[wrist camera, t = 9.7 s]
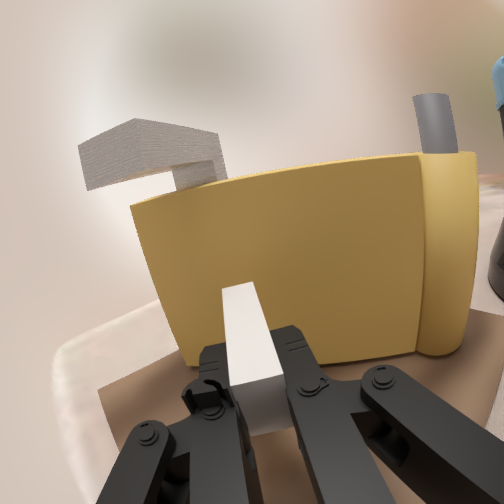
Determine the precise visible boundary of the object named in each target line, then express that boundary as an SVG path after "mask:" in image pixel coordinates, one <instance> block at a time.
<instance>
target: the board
mask: <svg viewBox="0 0 504 504" xmlns="http://www.w3.org/2000/svg"><path fill="white" fill-rule="evenodd" d="M384 364H386V365H393V366H395V367H397V368H399V369H401V370H402V371H403V372H405V373H406V374H408V375H409V376H410V377H412V378H413V379H415V380H416V381H417V382H419V383H420V384H422V385H423V386H425V387H426V388H427V389H429V390H430V391H432V392H433V393H434V394H436V395H437V396H439V397H440V398H441V399H443V400H444V401H446V402H447V403H449V404H450V405H451V406H453V407H454V408H456V409H457V410H458V411H460V412H461V413H463V414H464V415H466V416H467V417H468V418H470V419H471V420H473V421H474V422H476V423H477V424H478V425H480V426H481V427H483V428H484V427H485V425H486V422H487V419H488V417H489V414H490V411H491V408H492V405H493V402H494V399H495V396H496V393H497V389H498V386H499V382H500V378H501V375H502V371H503V366H504V316H500V315H496V314H491V313H487V312H483V311H478V310H474V309H469V314H468V319H467V324H466V328H465V332H464V336H463V340H462V343H461V345H460V346H459V347H458V348H457V349H456V350H455V351H453V352H451V353H449V354H446V355H440V356H432V355H427V354H423V353H421V352H419V351H417V350H415V351H414V352H409V353H403V354H397V355H392V356H385V357H379V358H372V359H365V360H357V361H349V362H339V363H329V364H319V366H320V368H321V370H322V372H323V373H324V374H325V375H327V376H329V377H330V378H331V379H334V380H339V381H350V380H359V379H362V376H363V374H364V373H365V372H366V371H367V370H368V369H370V368H372V367H374V366H377V365H384ZM198 376H199V366H187V365H186V363H185V360H184V358H183V356H182V354H181V351H180V349H179V350H177V351H175V352H174V353H172V354H170V355H168V356H166V357H164V358H162V359H160V360H158V361H156V362H154V363H152V364H150V365H148V366H146V367H144V368H142V369H140V370H138V371H136V372H134V373H132V374H130V375H128V376H126V377H124V378H122V379H120V380H117V381H115V382H113V383H111V384H109V385H107V386H105V387H103V388H100V389H98V394H99V397H100V400H101V403H102V406H103V409H104V412H105V415H106V418H107V421H108V424H109V426H110V429H111V432H112V434H113V437H114V439H115V442H116V444H117V447H118V449H119V451H120V452H121V450H122V448H123V446H124V443H125V441H126V439H127V437H128V435H129V433H130V432H131V431H132V429H133V428H134V427H135V426H136V425H138V424H139V423H141V422H144V421H147V420H157V421H160V422H162V423H163V424H165V425H166V426H168V425H171V424H173V423H176V422H179V421H181V420H183V419H185V418H187V417H188V416H189V415H191V413H190V412H189V410H188V408H187V407H186V405H185V403H184V401H183V399H182V398H181V394H182V391H183V389H184V388H185V387H186V386H187V385H188V384H189V383H191V382H192V381H194V380H195V379H198ZM249 436H250V434H249ZM250 442H251V445H252V447H253V449H254V453H255V459H256V464H257V469H258V475H259V480H260V485H261V490H262V495H263V500H264V504H318V502H317V499H316V496H315V493H314V490H313V487H312V484H311V481H310V478H309V475H308V472H307V468H306V465H305V462H304V459H303V456H302V453H301V450H300V449H299V446H298V441H297V436H296V431H295V428H294V427H290V428H286V429H282V430H278V431H274V432H270V433H266V434H261V435H257V436H252V437H251V436H250ZM368 449H369V448H368ZM369 451H370V453H371V455H372V457H373V459H374V461H375V463H376V465H377V467H378V469H379V471H380V473H381V474H382V476H383V478H384V480H385V482H386V484H387V486H388V488H389V490H390V492H391V494H392V496H393V498H394V500H395V502H396V504H426V503H425V502H424V501H423V500H422V499H421V498H419V497H418V496H417V495H416V494H415V493H414V492H413V491H412V490H411V489H410V488H409V487H408V486H407V485H406V484H405V483H404V482H403V481H402V480H400V479H399V478H398V477H397V476H396V475H395V474H394V473H393V472H392V471H391V470H390V469H389V468H388V467H387V466H386V465H385V464H384V463H383V462H382V461H381V460H380V459H379V458H378V457H377V456H376V455H375V454H374V453H373V452H372V451H371V450H370V449H369Z"/></svg>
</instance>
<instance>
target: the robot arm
mask: <svg viewBox="0 0 504 504" xmlns="http://www.w3.org/2000/svg"><path fill="white" fill-rule="evenodd" d="M492 80H493V84H494V89H495V94H496V99H497V105H496V108H497V111H500V117H501V123H502V130H503V137H504V56H502V57H501V58H500V59H499V60H498V61H497V62H496V63H495V65H494V67H493V70H492ZM488 278H489V281H490V284H491V286H492V287H493V289H494V290H495V292H496V293H497V294H498V295H499V296H500V297H501V298H502V299H503V300H504V218H503V221H502V224H501V227H500V230H499V233H498V236H497V238H496V241H495V244H494V247H493V249H492V252H491V256H490V264H489V272H488ZM222 298H223V311H224V324H225V336H226V342H223V343H219V344H214V345H209V346H205V347H204V349H203V350H202V352H201V353H200V355H199V376H198V379H195V380H194V381H192V382H191V383H189V384H188V385H187V386H186V387H185V388H184V389H183V391H182V394H181V398H182V399H183V401H184V403H185V405H186V407H187V408H188V410H189V412H190V413H191V415H189V416H188V417H187V418H185V419H183V420H181V421H179V422H176V423H173V424H171V425H168V426H166V425H165V424H163V423H162V422H160V421H157V420H147V421H144V422H141V423H139V424H138V425H136V426H135V427H134V428H133V429H132V431H131V432H130V433H129V435H128V437H127V439H126V441H125V443H124V446H123V448H122V450H121V452H120V454H119V456H118V458H117V460H116V462H115V464H114V466H113V468H112V470H111V472H110V474H109V476H108V479H107V481H106V483H105V485H104V487H103V489H102V491H101V493H100V496H99V498H98V500H97V502H96V504H264V500H263V495H262V490H261V485H260V480H259V475H258V469H257V464H256V459H255V453H254V449H253V447H252V445H251V442H250V436H251V437H252V436H257V435H261V434H266V433H270V432H274V431H278V430H282V429H286V428H290V427H294V428H295V431H296V436H297V441H298V446H299V449H300V450H301V453H302V456H303V459H304V462H305V465H306V468H307V472H308V475H309V478H310V481H311V484H312V487H313V490H314V493H315V496H316V499H317V502H318V504H396V502H395V500H394V498H393V496H392V494H391V492H390V490H389V488H388V486H387V484H386V482H385V480H384V478H383V476H382V474H381V473H380V471H379V469H378V467H377V465H376V463H375V461H374V459H373V457H372V455H371V453H370V451H369V449H370V450H371V451H372V452H373V453H374V454H375V455H376V456H377V457H378V458H379V459H380V460H381V461H382V462H383V463H384V464H385V465H386V466H387V467H388V468H389V469H390V470H391V471H392V472H393V473H394V474H395V475H396V476H397V477H398V478H399V479H400V480H402V481H403V482H404V483H405V484H406V485H407V486H408V487H409V488H410V489H411V490H412V491H413V492H414V493H415V494H416V495H417V496H418V497H419V498H421V499H422V500H423V501H424V502H425V503H426V504H504V442H503V441H501V440H500V439H499V438H497V437H496V436H494V435H493V434H491V433H490V432H489V431H487V430H486V429H484V428H483V427H481V426H480V425H478V424H477V423H476V422H474V421H473V420H471V419H470V418H468V417H467V416H466V415H464V414H463V413H461V412H460V411H458V410H457V409H456V408H454V407H453V406H451V405H450V404H449V403H447V402H446V401H444V400H443V399H441V398H440V397H439V396H437V395H436V394H434V393H433V392H432V391H430V390H429V389H427V388H426V387H425V386H423V385H422V384H420V383H419V382H417V381H416V380H415V379H413V378H412V377H410V376H409V375H408V374H406V373H405V372H403V371H402V370H401V369H399V368H397V367H395V366H393V365H386V364H384V365H377V366H374V367H372V368H370V369H368V370H367V371H366V372H365V373H364V374H363V376H362V379H359V380H350V381H339V380H334V379H331V378H330V377H329V376H327V375H325V374H324V373H323V372H322V370H321V368H320V366H319V364H318V362H317V360H316V358H315V356H314V355H313V353H312V351H311V349H310V347H309V345H308V343H307V341H306V340H305V337H304V335H303V333H302V331H301V330H300V329H298V328H297V327H295V326H294V325H289V326H285V327H282V328H278V329H274V330H270V331H269V329H268V326H267V323H266V320H265V317H264V314H263V311H262V308H261V305H260V302H259V299H258V296H257V293H256V290H255V287H254V284H253V281H252V282H248V283H244V284H240V285H236V286H232V287H227V288H223V289H222ZM249 434H250V436H249ZM368 448H369V449H368Z"/></svg>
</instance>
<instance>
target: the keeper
mask: <svg viewBox="0 0 504 504" xmlns="http://www.w3.org/2000/svg"><path fill="white" fill-rule="evenodd" d="M78 149H79V155H80V159H81V165H82V170H83V174H84V178H85V182H86V187H87V191H89V190H93V189H96V188H99V187H103V186H107V185H111V184H115V183H119V182H123V181H127V180H131V179H136V178H140V177H144V176H148V175H153V174H158V173H163V172H168V171H172V173H173V177H174V181H175V185H176V189H177V191H179V190H183V189H187V188H191V187H195V186H199V185H203V184H208V183H212V182H217V181H221V180H226V179H228V177H227V173H226V168H225V164H224V159H223V155H222V150H221V146H220V141H219V137H218V134H217V133H212V132H208V131H203V130H199V129H194V128H189V127H184V126H179V125H173V124H167V123H161V122H156V121H149V120H143V119H132V120H130V121H127V122H125V123H123V124H121V125H118V126H116V127H114V128H112V129H110V130H108V131H105V132H103V133H101V134H99V135H97V136H95V137H93V138H91V139H89V140H87V141H86V142H84V143H82V144H80V145H78Z"/></svg>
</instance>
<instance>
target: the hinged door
mask: <svg viewBox="0 0 504 504" xmlns="http://www.w3.org/2000/svg"><path fill="white" fill-rule="evenodd" d="M412 98H413V101H414V107H415V111H416V116H417V121H418V127H419V132H420V138H421V145H422V152H414V153H406V154H395V155H382V156H372V157H362V158H353V159H345V160H337V161H330V162H323V163H315V164H309V165H302V166H296V167H289V168H283V169H278V170H272V171H266V172H262V173H256V174H251V175H246V176H241V177H236V178H231V179H226V180H221V181H217V182H212V183H208V184H203V185H199V186H195V187H191V188H187V189H183V190H179V191H175V192H171V193H167V194H163V195H159V196H156V197H152V198H149V199H146V200H144V201H141V202H138V203H136V204H133V205H130V209H131V212H132V216H133V220H134V223H135V227H136V230H137V233H138V237H139V240H140V243H141V247H142V249H143V253H144V256H145V259H146V262H147V265H148V268H149V271H150V274H151V277H152V280H153V283H154V285H155V288H156V291H157V294H158V296H159V299H160V302H161V305H162V307H163V310H164V312H165V315H166V317H167V320H168V323H169V325H170V328H171V330H172V332H173V335H174V337H175V340H176V342H177V344H178V347H179V349H180V351H181V354H182V356H183V358H184V360H185V363H186V365H187V366H199V355H200V353H201V352H202V350H203V349H204V347H205V346H209V345H214V344H219V343H223V342H226V336H225V324H224V311H223V298H222V289H223V288H227V287H232V286H236V285H240V284H244V283H248V282H252V281H253V284H254V287H255V290H256V293H257V296H258V299H259V302H260V305H261V308H262V311H263V314H264V317H265V320H266V323H267V326H268V329H269V331H270V330H274V329H278V328H282V327H285V326H289V325H294V326H295V327H297V328H298V329H300V330H301V331H302V333H303V335H304V337H305V340H306V341H307V343H308V345H309V347H310V349H311V351H312V353H313V355H314V356H315V358H316V360H317V362H318V364H329V363H339V362H349V361H357V360H365V359H372V358H379V357H385V356H392V355H397V354H403V353H409V352H414V351H415V350H417V351H419V352H421V353H423V354H427V355H432V356H440V355H446V354H449V353H451V352H453V351H455V350H456V349H457V348H458V347H459V346H460V345H461V343H462V340H463V336H464V332H465V328H466V324H467V319H468V314H469V309H470V304H471V298H472V292H473V286H474V278H475V270H476V261H477V250H478V234H479V185H478V169H477V158H476V153H475V152H465V151H458V145H457V138H456V132H455V126H454V120H453V115H452V110H451V105H450V101H449V96H448V95H446V94H440V93H430V94H421V95H416V96H413V97H412Z"/></svg>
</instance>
